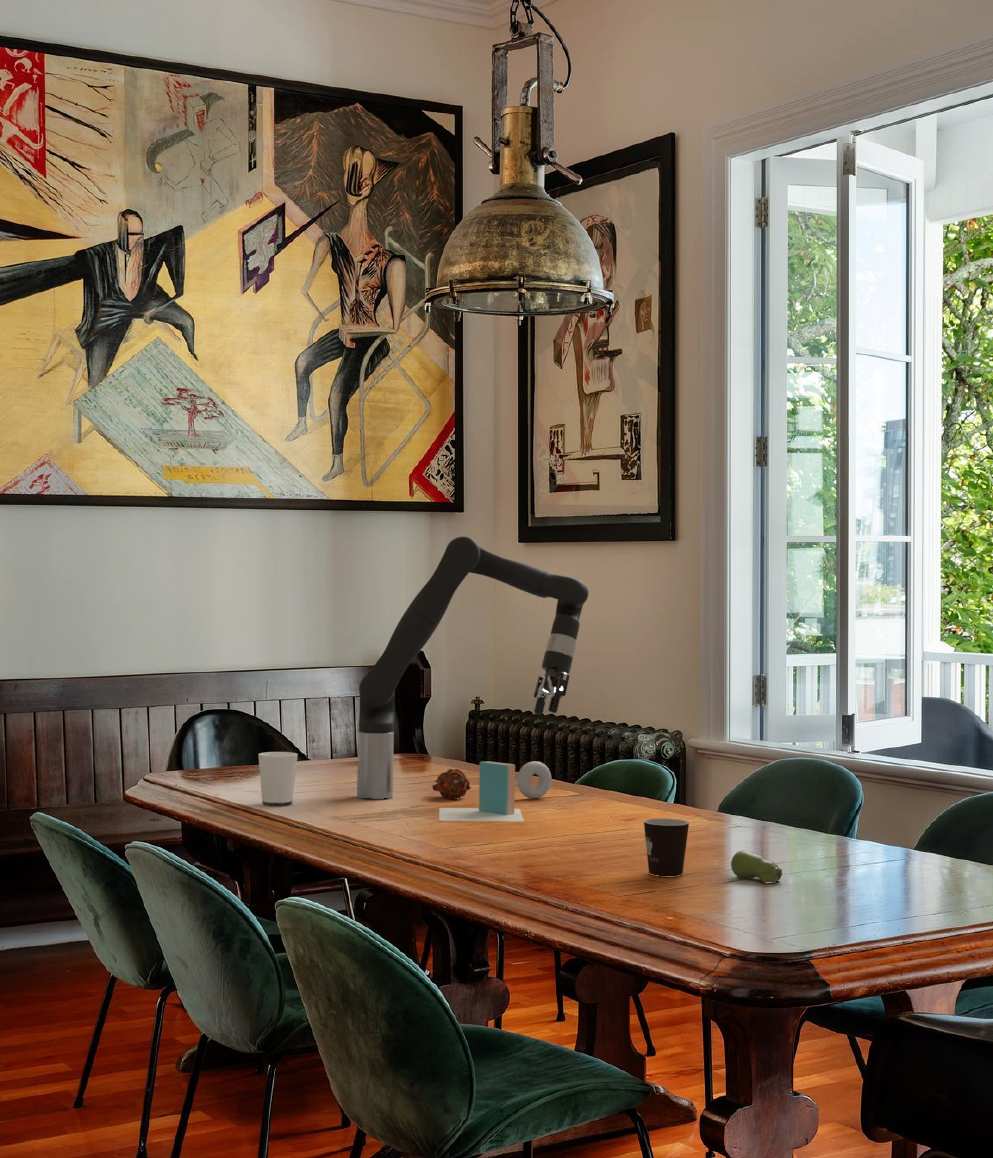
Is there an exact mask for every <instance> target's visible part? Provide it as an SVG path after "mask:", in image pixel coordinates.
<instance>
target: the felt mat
mask: <svg viewBox="0 0 993 1158" xmlns="http://www.w3.org/2000/svg"><path fill="white" fill-rule="evenodd" d="M438 814H439V815H438V819H439V820H438V822H439V821H440V822H512V823H513V822H514V823H515V822H517V823H518V822H519V823H520V822H521V823H522V822H525V820H524V817H523V814H522V811H521V809H520V808H514V814H511V815H502V814H495V813H489V812H482V811H479V807H478V808H477V807H476V808H475V807H474V808H473V807H469V808H468V807H439V810H438Z"/></svg>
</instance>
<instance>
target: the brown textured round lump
mask: <svg viewBox="0 0 993 1158" xmlns="http://www.w3.org/2000/svg"><path fill="white" fill-rule="evenodd" d="M433 783H435V784H432V790H433V791H435V792H439V794H440V796H441V797H442V798H443V799H444V798H446V799H452V800H458V799H457V798H459V799H460V798H461V797H465V795H466V794H467V791H469V790H471V789H472V787H471V785H470V783H471V782H470V781H469V779H468V777H467V776H466V774H465V773H464V772H463V771H462V770H461V769H459V768H454V769H453V768H449V769H448V770H446V771H445V772H442V773H440V774H439V775H438V776H437V779H436V780H434V782H433Z"/></svg>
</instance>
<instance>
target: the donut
mask: <svg viewBox="0 0 993 1158" xmlns="http://www.w3.org/2000/svg"><path fill="white" fill-rule="evenodd" d="M533 775H537V776H538V783H537V784H536V785H535V786H533V785H532V784H531V782H530V781H531V780H530V779H531V777H532V776H533ZM516 783H517V784H516V785H517V788H518V790H519V792H520V793H521V794H522V795H523V796H524V797H526V798H528V799H530V798H531V800H535V799H534V798H537V799H540V798H542V797H544V796H545V795H546V794H547V793H548V791H549V790H550V788H551V786H552V773H551V771H550V768H549V767H548V766H547V765H546V764H545V763H543V762H541V761H538V760H537V761H536V760H535V761H529V762H527V763H525V764H524V765H522V767H521V768H520V769H519V771H518V774H517V777H516Z"/></svg>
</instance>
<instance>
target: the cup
mask: <svg viewBox="0 0 993 1158" xmlns="http://www.w3.org/2000/svg"><path fill="white" fill-rule="evenodd" d="M297 763H298V753H296V752H290V751H267V752H261V753H258V766H259V777H260V778H259V779H260V790H261V791H260V793H261V802H262V804H263V805H265V804H266V806H268V807H272V806H274V805H275V804H276V805H277V806H279V807H284V806H285V804H291V805H292V803H293V800H294V791H295V790H294V789H295V782H296V781H295V780H296V773H297Z"/></svg>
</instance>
